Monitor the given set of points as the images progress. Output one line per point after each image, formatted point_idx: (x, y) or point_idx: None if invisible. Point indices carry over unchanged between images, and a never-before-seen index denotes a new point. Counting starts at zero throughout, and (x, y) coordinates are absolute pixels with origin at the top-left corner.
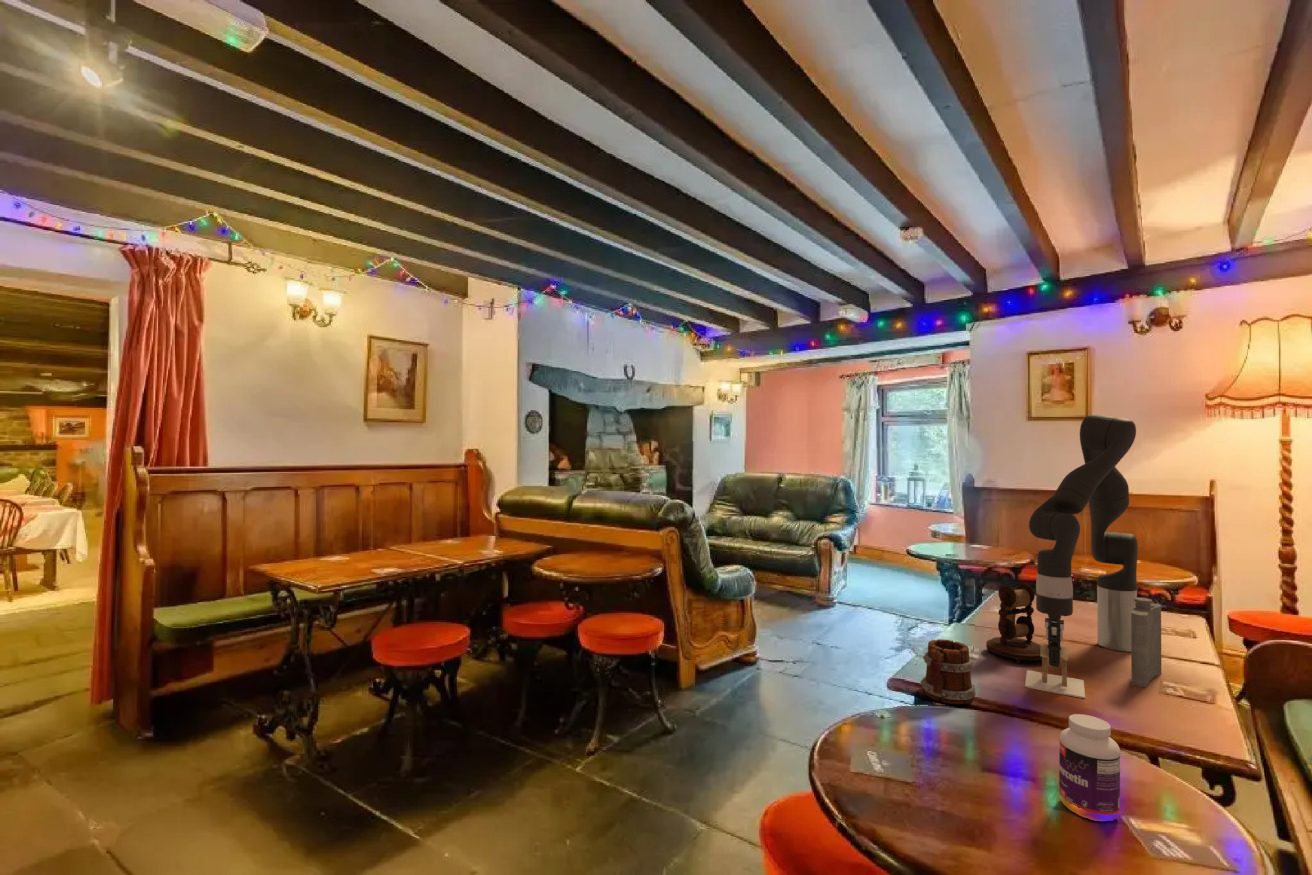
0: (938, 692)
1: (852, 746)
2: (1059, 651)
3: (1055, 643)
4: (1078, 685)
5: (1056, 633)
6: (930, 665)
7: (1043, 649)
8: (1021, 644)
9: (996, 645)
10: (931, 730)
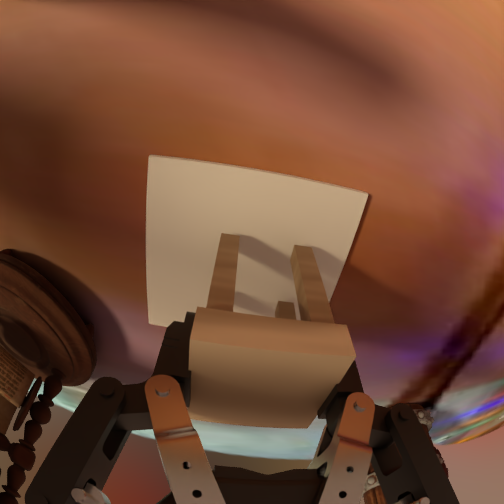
0: (430, 438)
1: (490, 426)
2: (366, 397)
3: (184, 393)
4: (234, 188)
5: (413, 498)
6: None
7: (299, 422)
8: (15, 331)
9: (69, 383)
10: (483, 406)
